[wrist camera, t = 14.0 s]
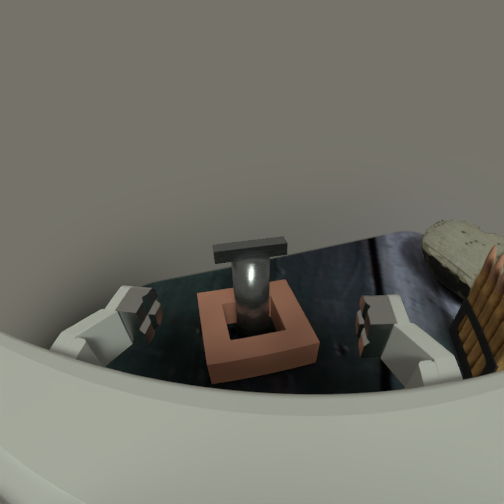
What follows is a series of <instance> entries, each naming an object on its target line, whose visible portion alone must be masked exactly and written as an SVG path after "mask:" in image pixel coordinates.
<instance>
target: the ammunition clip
mask: <svg viewBox="0 0 504 504" xmlns="http://www.w3.org/2000/svg"><path fill="white" fill-rule="evenodd" d="M496 251H497V247H496V245H494V246H493V247H492V249H491V250H490V252H489V253H488V255H487V257H486V259H485V262H484V264H483V267H482V269H481V271H480V273H479V275H478V276H477V278H476V280H475V282H474V285H473V287H472V289H471V292H470V294H469V296H468V297H465V299H464V301H463V303H462V305H461V307H460V309H459V311H458V313H457V315H456V317H455V319H454V321H453V323H452V324H451V326H450V329H449V330H450V333H451V335H452V338H453V341H454V344H455V347H456V350H457V353H458V356H459V359H460V362H461V366H462V369H463V372H464V376H465V379H470V378H474V377H478V376H483V375H487V374H491V373H494V372H498V371H502V370H504V297H503V296H504V272H503V274H502V275H501V272H502V269H503V264H504V254H502V255H501V256H500V257H499V258H498V260H497V261H496V263H495V265H494V262H495V258H496ZM493 265H494V267H493ZM492 268H493V269H492ZM500 275H501V277H500ZM499 278H500V279H499ZM498 280H499V281H498Z"/></svg>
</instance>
